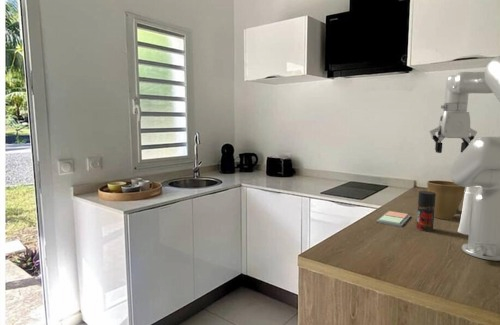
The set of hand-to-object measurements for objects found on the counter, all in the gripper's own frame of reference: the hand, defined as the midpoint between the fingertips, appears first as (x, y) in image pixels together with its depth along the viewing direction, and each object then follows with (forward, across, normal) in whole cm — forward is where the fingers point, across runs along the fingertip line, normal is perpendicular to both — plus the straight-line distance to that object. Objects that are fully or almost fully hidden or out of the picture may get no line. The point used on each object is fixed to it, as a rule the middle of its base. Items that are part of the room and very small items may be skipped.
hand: (451, 152), depth 127 cm
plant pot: (+32, +9, +18) cm, 37 cm away
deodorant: (+31, -8, 0) cm, 32 cm away
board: (+31, -15, +12) cm, 37 cm away
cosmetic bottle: (+31, +7, -4) cm, 32 cm away
